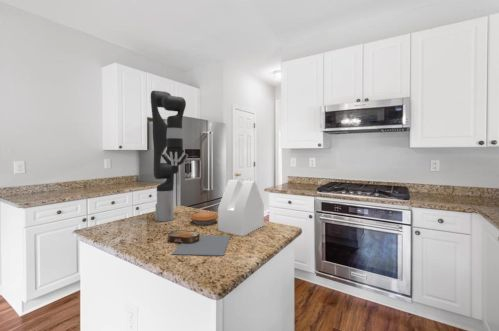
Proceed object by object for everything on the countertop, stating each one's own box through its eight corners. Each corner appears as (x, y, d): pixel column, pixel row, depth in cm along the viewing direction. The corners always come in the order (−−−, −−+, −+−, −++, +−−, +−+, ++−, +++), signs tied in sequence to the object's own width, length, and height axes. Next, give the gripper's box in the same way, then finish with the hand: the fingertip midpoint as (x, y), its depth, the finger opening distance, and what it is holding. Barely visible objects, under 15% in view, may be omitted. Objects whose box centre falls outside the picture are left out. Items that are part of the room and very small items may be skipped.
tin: (163, 235, 108) (175, 228, 115) (164, 242, 108) (176, 234, 116) (192, 238, 102) (203, 230, 110) (192, 245, 102) (203, 237, 110)
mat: (171, 254, 93) (171, 253, 93) (188, 235, 115) (188, 234, 115) (223, 256, 92) (223, 255, 92) (230, 236, 114) (230, 235, 114)
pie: (189, 219, 143) (189, 211, 143) (216, 218, 147) (216, 209, 147) (190, 227, 128) (190, 218, 128) (219, 225, 132) (219, 216, 132)
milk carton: (243, 236, 115) (243, 183, 113) (218, 230, 123) (218, 181, 122) (263, 226, 131) (263, 180, 129) (240, 221, 139) (240, 178, 138)
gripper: (190, 138, 122) (190, 173, 122) (164, 138, 122) (164, 172, 123) (185, 137, 114) (186, 174, 115) (158, 137, 115) (158, 174, 116)
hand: (175, 173), depth 119 cm, fingers closed
